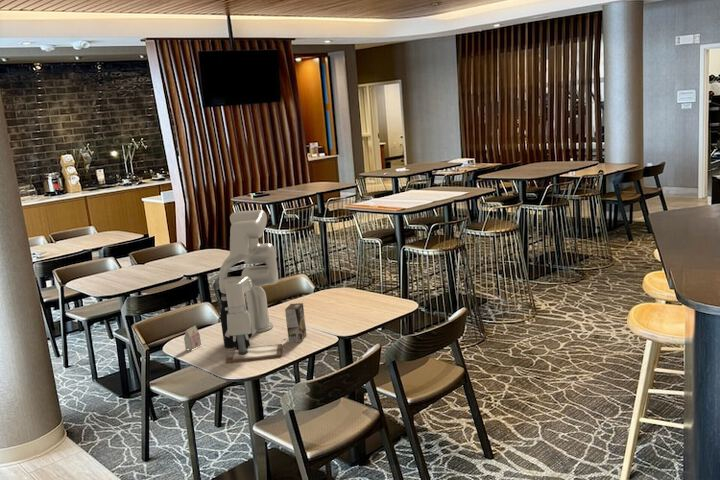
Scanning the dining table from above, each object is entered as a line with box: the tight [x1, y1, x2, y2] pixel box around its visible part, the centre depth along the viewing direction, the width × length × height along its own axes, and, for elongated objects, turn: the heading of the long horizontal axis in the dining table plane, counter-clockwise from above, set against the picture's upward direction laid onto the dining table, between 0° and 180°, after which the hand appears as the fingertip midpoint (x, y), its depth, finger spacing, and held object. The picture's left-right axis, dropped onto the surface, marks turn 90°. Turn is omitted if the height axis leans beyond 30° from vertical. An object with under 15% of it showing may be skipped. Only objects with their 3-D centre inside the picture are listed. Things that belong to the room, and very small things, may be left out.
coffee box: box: [284, 302, 308, 343], centre depth 309 cm, size 9×6×16 cm
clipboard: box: [225, 343, 283, 364], centre depth 296 cm, size 14×24×2 cm, turn 94°
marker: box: [236, 335, 248, 355], centre depth 294 cm, size 4×4×12 cm
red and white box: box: [183, 325, 202, 350], centre depth 311 cm, size 4×7×10 cm, turn 155°
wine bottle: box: [218, 287, 235, 349], centre depth 307 cm, size 6×6×30 cm
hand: (242, 348), depth 295 cm, fingers closed on marker, 3 cm apart
